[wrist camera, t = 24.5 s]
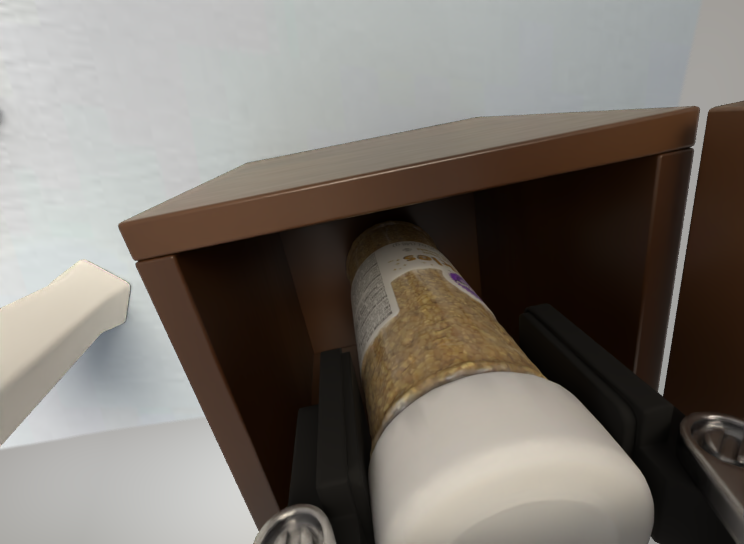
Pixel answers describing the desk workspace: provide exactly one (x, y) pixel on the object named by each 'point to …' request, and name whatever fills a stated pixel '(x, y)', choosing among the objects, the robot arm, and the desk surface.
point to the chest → (449, 233)
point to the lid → (713, 279)
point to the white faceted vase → (53, 335)
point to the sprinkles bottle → (473, 417)
